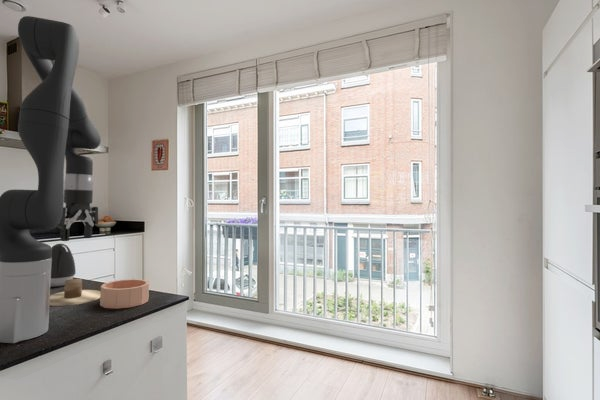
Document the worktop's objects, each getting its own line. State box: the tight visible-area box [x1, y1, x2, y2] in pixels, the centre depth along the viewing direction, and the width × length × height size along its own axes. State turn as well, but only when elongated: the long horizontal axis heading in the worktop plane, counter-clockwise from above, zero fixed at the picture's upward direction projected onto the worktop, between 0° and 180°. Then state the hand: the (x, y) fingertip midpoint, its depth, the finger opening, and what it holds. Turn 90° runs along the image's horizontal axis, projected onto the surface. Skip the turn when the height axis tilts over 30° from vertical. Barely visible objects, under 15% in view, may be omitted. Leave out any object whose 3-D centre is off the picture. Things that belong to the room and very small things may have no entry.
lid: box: [49, 278, 101, 307], centre depth 100 cm, size 16×16×6 cm
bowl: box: [99, 278, 150, 310], centre depth 98 cm, size 13×13×6 cm
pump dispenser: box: [50, 243, 76, 288], centre depth 115 cm, size 10×10×15 cm
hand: (76, 239), depth 101 cm, fingers open, 8 cm apart
